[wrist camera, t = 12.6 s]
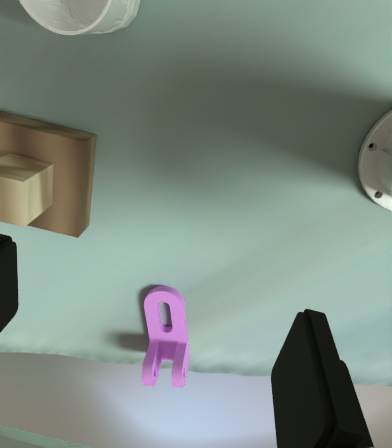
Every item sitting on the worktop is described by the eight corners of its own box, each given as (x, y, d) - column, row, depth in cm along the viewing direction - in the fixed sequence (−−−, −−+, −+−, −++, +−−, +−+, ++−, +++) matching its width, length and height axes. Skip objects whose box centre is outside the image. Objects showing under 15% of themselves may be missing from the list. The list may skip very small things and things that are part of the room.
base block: (97, 134, 41) (84, 142, 37) (90, 223, 46) (78, 237, 43) (-2, 109, 41) (-26, 115, 37) (2, 201, 46) (-18, 214, 43)
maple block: (53, 163, 39) (23, 181, 33) (52, 204, 41) (24, 227, 36) (9, 153, 39) (-28, 169, 33) (11, 194, 41) (-23, 215, 36)
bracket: (190, 354, 54) (183, 393, 48) (155, 352, 55) (144, 391, 49) (182, 285, 49) (174, 319, 42) (143, 284, 49) (129, 318, 43)
